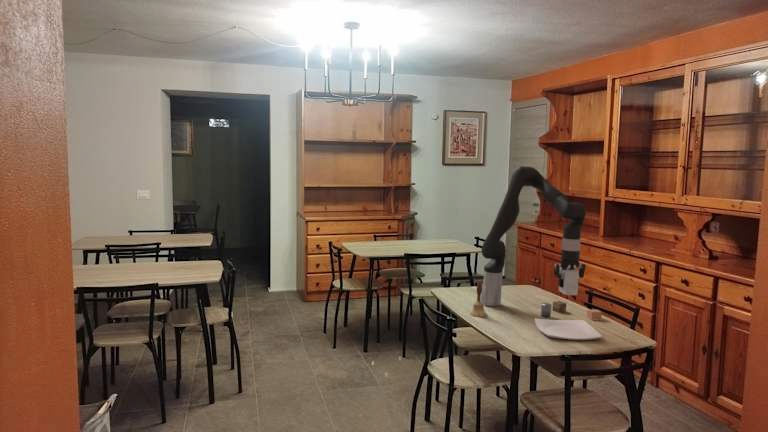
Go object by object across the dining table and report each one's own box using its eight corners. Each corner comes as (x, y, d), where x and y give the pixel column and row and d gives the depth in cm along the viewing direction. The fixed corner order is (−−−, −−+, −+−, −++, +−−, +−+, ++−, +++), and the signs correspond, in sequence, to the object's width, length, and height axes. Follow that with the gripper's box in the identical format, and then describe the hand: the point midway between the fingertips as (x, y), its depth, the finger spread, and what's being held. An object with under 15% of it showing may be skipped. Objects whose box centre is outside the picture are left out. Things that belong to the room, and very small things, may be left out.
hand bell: (466, 312, 249) (467, 280, 248) (481, 311, 252) (482, 279, 251) (474, 317, 242) (476, 284, 240) (490, 316, 245) (492, 283, 243)
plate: (530, 323, 237) (531, 317, 237) (584, 325, 236) (585, 319, 236) (545, 341, 213) (546, 335, 212) (606, 343, 212) (606, 337, 212)
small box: (577, 295, 220) (579, 271, 219) (564, 295, 220) (566, 270, 219) (571, 290, 228) (572, 267, 227) (558, 290, 228) (559, 267, 227)
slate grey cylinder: (543, 317, 244) (544, 305, 244) (539, 315, 249) (540, 303, 248) (552, 317, 245) (553, 305, 245) (547, 315, 249) (548, 302, 249)
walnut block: (558, 313, 254) (559, 304, 253) (552, 310, 258) (553, 301, 257) (565, 312, 255) (566, 303, 255) (559, 309, 259) (559, 301, 259)
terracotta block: (591, 320, 243) (592, 312, 243) (586, 317, 247) (587, 309, 247) (601, 320, 244) (601, 311, 243) (596, 317, 248) (597, 309, 247)
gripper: (559, 250, 217) (557, 289, 219) (591, 250, 219) (588, 289, 221) (551, 247, 224) (548, 285, 226) (581, 247, 227) (579, 284, 228)
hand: (568, 287), depth 224 cm, fingers closed on small box, 6 cm apart
